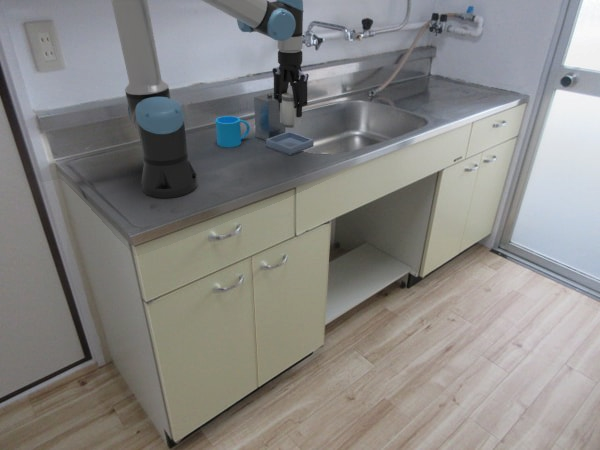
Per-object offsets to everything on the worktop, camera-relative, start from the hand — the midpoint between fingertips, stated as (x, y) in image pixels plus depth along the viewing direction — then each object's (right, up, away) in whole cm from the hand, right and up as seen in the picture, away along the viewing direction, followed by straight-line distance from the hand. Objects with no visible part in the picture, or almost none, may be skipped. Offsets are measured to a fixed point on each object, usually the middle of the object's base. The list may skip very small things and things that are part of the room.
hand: (290, 123), depth 151 cm
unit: (-7, -2, +12) cm, 14 cm away
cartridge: (0, 0, 0) cm, 0 cm away
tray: (0, -7, +4) cm, 8 cm away
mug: (-19, -5, +7) cm, 21 cm away
